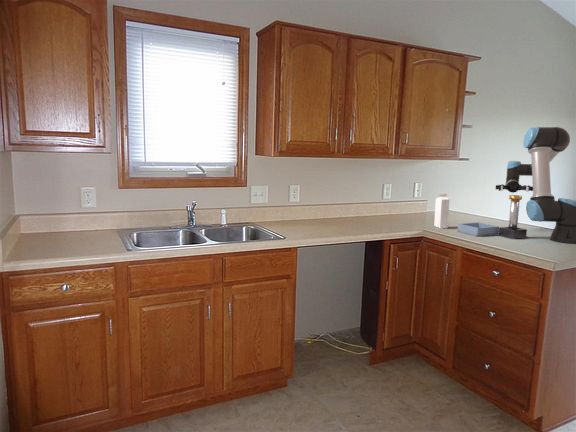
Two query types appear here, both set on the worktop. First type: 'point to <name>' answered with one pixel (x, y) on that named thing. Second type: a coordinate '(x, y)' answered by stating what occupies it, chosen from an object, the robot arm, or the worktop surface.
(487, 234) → the tray
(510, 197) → the pin
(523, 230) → the hitch block
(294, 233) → the worktop surface
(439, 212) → the milk
